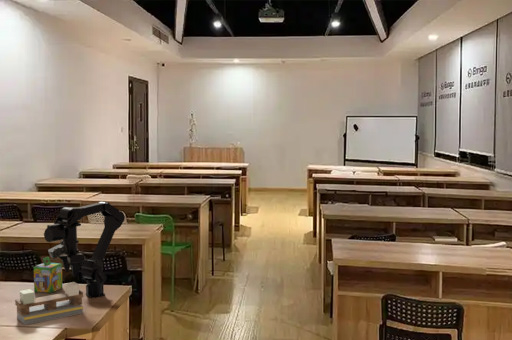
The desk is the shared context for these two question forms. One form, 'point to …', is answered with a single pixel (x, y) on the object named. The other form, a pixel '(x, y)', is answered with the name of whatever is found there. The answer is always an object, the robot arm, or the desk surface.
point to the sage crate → (27, 296)
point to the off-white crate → (71, 289)
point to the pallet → (48, 302)
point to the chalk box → (47, 277)
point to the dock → (50, 312)
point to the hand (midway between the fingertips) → (70, 274)
